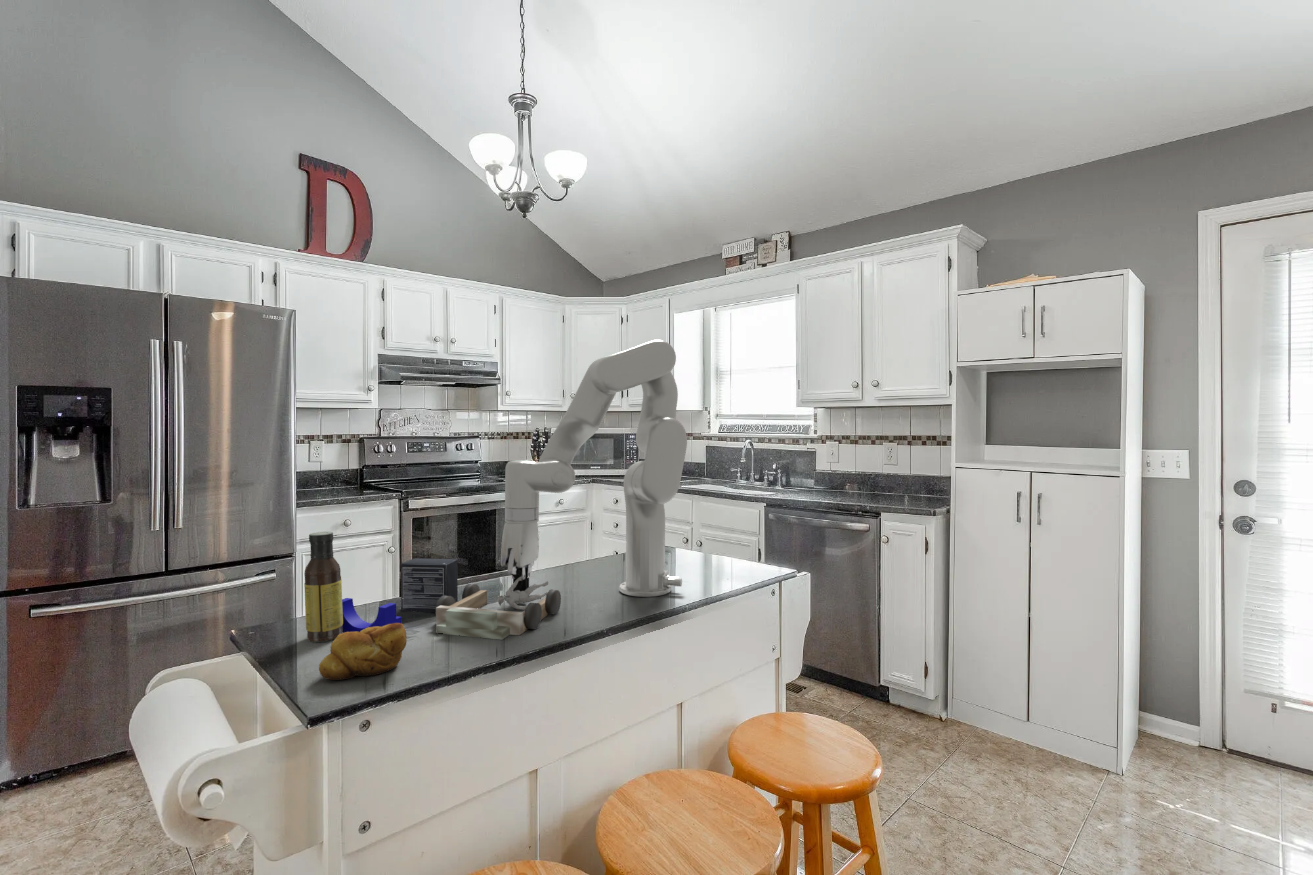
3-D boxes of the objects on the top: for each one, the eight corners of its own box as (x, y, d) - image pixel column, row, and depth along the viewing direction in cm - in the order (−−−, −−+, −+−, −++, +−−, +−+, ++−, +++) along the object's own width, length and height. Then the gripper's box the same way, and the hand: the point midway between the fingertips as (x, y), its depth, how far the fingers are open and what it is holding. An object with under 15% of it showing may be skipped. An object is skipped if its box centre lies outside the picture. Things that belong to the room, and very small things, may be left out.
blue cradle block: (401, 631, 123) (401, 601, 123) (385, 639, 119) (384, 607, 119) (352, 625, 127) (352, 595, 127) (334, 632, 123) (334, 601, 123)
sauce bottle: (346, 630, 123) (345, 529, 122) (338, 641, 117) (338, 534, 116) (310, 633, 121) (309, 530, 121) (300, 644, 115) (299, 536, 115)
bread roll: (322, 690, 96) (321, 638, 96) (314, 670, 104) (314, 621, 104) (410, 672, 103) (410, 623, 103) (397, 654, 111) (396, 609, 111)
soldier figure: (556, 604, 141) (512, 608, 132) (544, 614, 143) (499, 618, 134) (546, 573, 145) (503, 575, 136) (534, 583, 147) (490, 585, 138)
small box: (459, 604, 141) (459, 558, 141) (446, 613, 135) (446, 564, 135) (414, 603, 142) (414, 556, 142) (399, 611, 136) (399, 563, 136)
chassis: (561, 609, 137) (561, 587, 137) (519, 641, 118) (519, 614, 117) (475, 602, 143) (475, 580, 142) (420, 631, 123) (420, 606, 123)
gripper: (522, 509, 151) (521, 586, 151) (490, 518, 136) (489, 602, 137) (551, 511, 149) (550, 588, 149) (521, 520, 134) (520, 606, 135)
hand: (520, 595), depth 143 cm, fingers closed
